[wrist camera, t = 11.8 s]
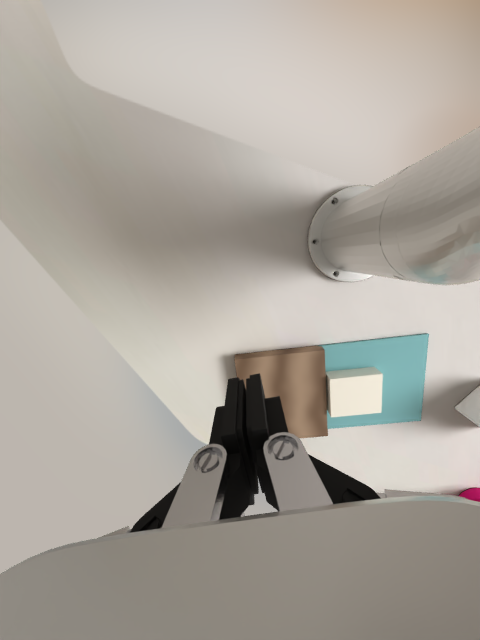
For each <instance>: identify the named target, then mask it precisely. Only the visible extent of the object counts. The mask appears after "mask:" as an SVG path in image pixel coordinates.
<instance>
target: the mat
mask: <svg viewBox="0 0 480 640" xmlns="http://www.w3.org/2000/svg"><path fill="white" fill-rule="evenodd" d="M428 337H429V334H427V333H426V334H417V335H408V336H399V337H390V338H381V339H372V340H363V341H354V342H345V343H336V344H327V345H318V346H322V347H323V349H324V350H325V372H328V371H338V370H347V369H357V368H366V367H375V368H377V369H378V370H379V371H380V372H381V373H382V374H383V383H382V411H381V413H373V414H363V415H352V416H341V417H331V416H330V414H329V413H328V411H327V428H328V429H331V428H343V427H354V426H365V425H377V424H388V423H399V422H411V421H421V413H422V402H423V392H424V381H425V370H426V359H427V348H428Z"/></svg>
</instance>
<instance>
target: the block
mask: <svg viewBox="0 0 480 640" xmlns="http://www.w3.org/2000/svg"><path fill="white" fill-rule="evenodd" d="M382 383H383V374H382V373H381V372H380V371H379V370H378V369H377V368H375V367H366V368H357V369H347V370H338V371H328V372H326V400H327V411H328V413H329V414H330V416H331V417H341V416H352V415H363V414H373V413H381V411H382Z"/></svg>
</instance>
